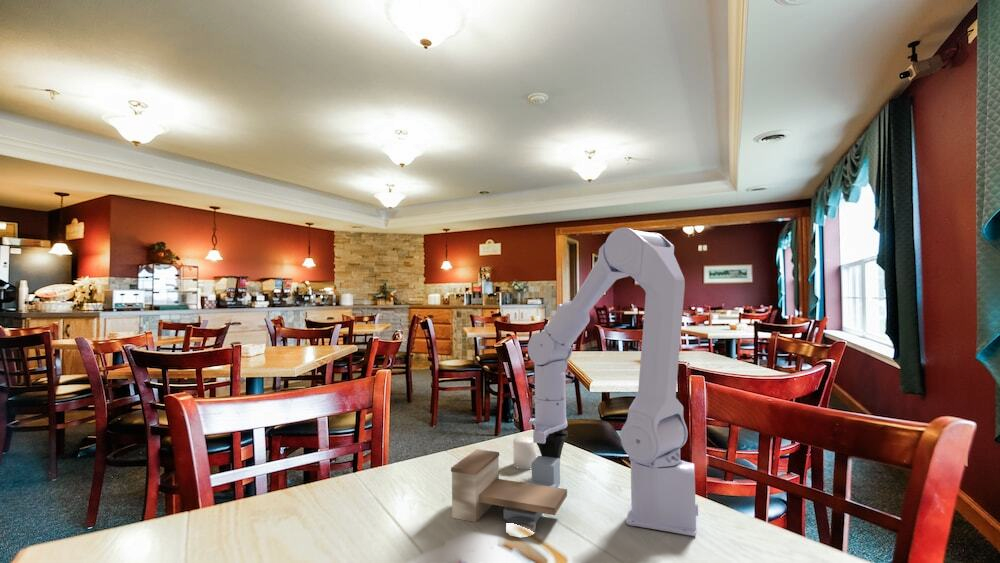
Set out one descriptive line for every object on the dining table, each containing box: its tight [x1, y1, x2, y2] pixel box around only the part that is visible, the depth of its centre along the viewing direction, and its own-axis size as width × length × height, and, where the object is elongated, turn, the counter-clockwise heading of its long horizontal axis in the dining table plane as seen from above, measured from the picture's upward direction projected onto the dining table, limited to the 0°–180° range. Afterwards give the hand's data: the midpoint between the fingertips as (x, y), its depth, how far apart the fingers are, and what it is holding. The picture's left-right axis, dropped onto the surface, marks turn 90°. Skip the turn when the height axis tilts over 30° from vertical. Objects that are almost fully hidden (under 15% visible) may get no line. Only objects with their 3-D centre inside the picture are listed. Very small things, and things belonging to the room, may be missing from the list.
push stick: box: [503, 455, 561, 524], centre depth 77 cm, size 5×16×4 cm, turn 157°
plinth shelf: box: [450, 449, 568, 523], centre depth 72 cm, size 16×9×8 cm, turn 67°
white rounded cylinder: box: [512, 436, 537, 470], centre depth 93 cm, size 5×5×5 cm
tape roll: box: [504, 516, 537, 533], centre depth 67 cm, size 4×4×1 cm
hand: (551, 471), depth 85 cm, fingers closed
